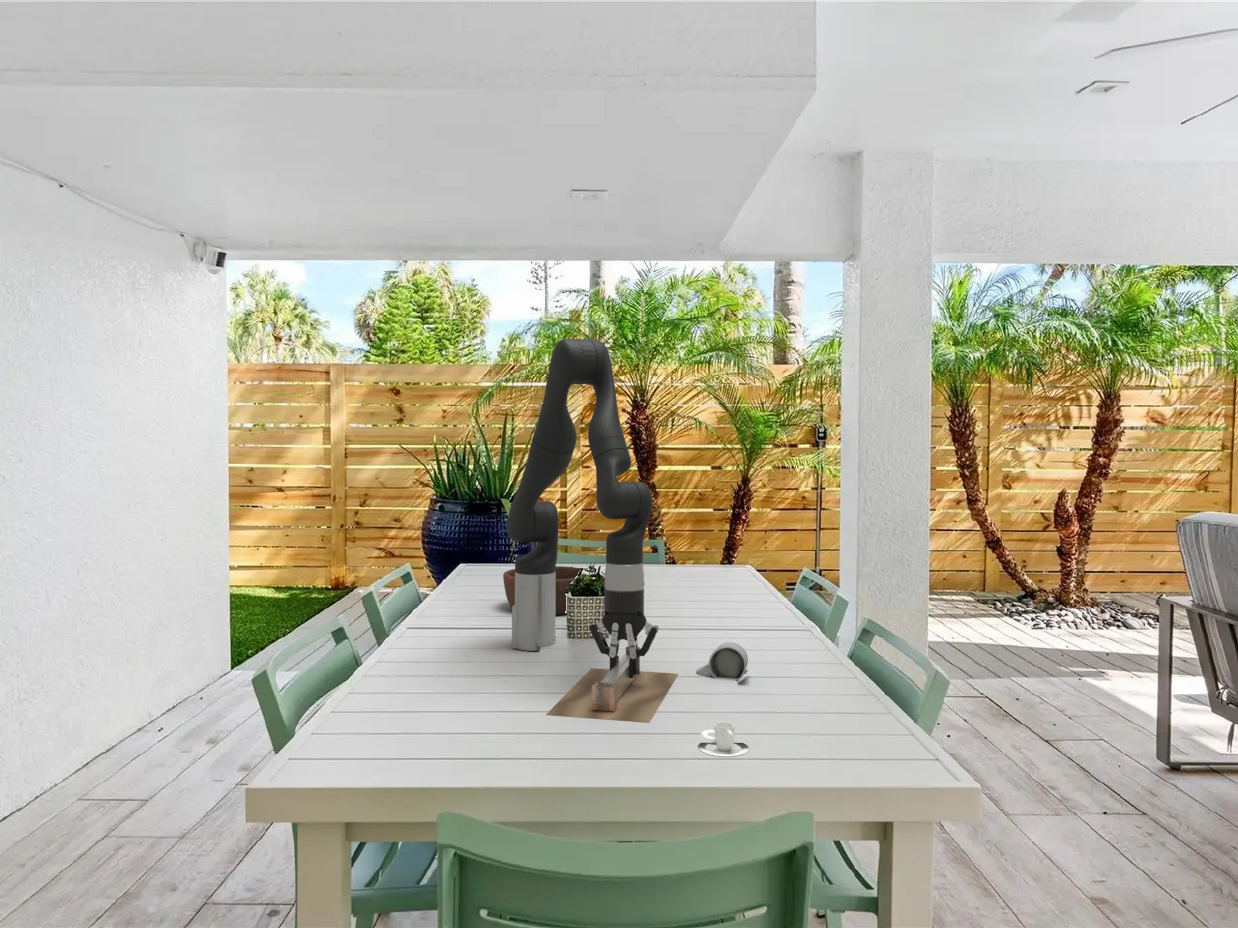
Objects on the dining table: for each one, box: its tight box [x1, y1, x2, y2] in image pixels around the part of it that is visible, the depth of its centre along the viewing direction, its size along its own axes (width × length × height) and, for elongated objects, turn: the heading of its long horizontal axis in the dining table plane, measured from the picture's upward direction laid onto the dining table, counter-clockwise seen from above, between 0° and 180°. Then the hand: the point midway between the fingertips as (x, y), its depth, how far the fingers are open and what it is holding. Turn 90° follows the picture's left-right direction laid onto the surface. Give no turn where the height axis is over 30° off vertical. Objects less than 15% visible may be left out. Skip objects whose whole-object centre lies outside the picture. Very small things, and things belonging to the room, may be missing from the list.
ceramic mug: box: [695, 641, 749, 683], centre depth 187 cm, size 10×8×7 cm
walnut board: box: [545, 646, 679, 724], centre depth 173 cm, size 18×32×6 cm, turn 168°
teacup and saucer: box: [697, 721, 750, 758], centre depth 147 cm, size 9×8×4 cm
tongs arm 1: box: [592, 654, 630, 711], centre depth 173 cm, size 24×2×4 cm, turn 168°
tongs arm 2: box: [603, 657, 637, 711], centre depth 173 cm, size 24×2×4 cm, turn 167°
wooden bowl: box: [502, 565, 590, 616], centre depth 258 cm, size 25×25×10 cm
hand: (623, 676), depth 178 cm, fingers open, 2 cm apart
